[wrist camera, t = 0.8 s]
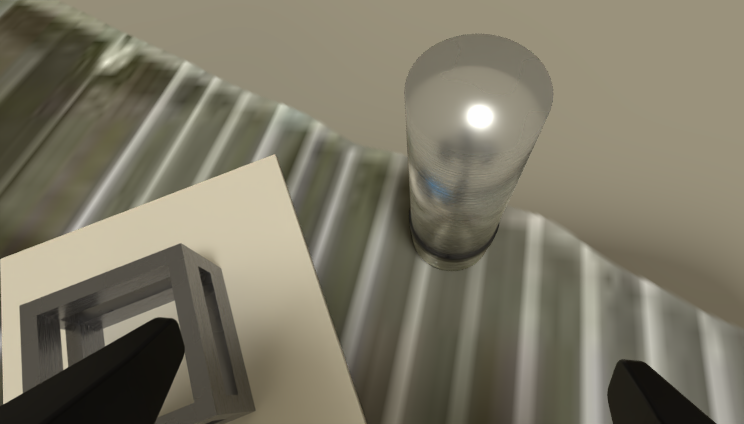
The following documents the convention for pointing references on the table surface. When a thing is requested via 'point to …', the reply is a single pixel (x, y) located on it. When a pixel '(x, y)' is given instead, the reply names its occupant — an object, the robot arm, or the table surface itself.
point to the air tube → (469, 141)
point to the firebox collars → (133, 297)
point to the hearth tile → (243, 284)
